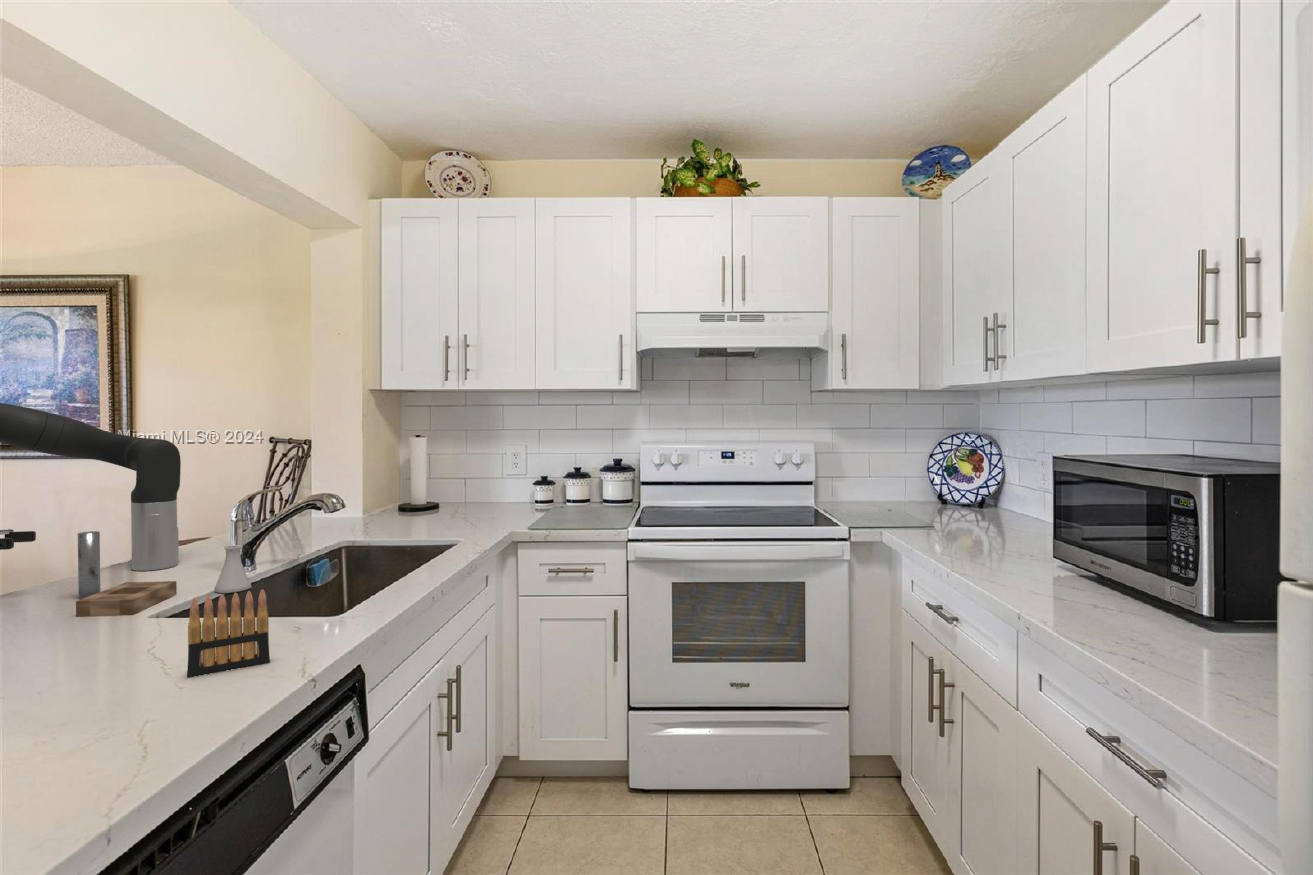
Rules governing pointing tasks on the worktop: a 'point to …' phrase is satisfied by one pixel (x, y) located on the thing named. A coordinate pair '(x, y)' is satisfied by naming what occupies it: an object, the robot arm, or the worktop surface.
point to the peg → (88, 563)
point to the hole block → (126, 598)
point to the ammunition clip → (227, 636)
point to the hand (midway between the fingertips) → (24, 539)
